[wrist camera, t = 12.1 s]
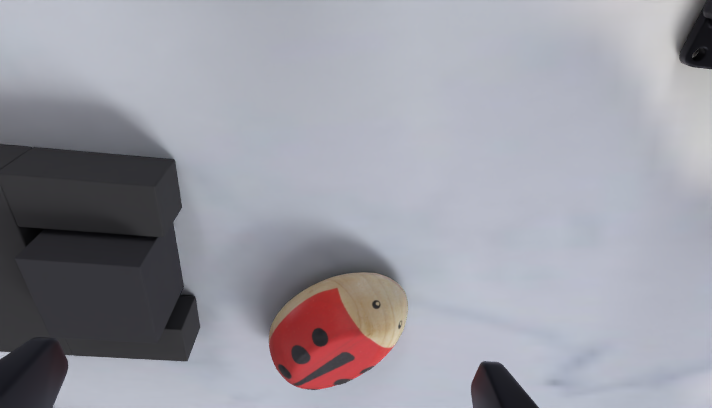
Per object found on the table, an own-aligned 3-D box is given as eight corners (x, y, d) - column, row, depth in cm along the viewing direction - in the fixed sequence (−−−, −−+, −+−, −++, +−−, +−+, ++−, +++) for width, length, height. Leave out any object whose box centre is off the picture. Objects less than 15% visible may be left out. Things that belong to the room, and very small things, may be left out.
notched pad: (175, 158, 20) (154, 186, 17) (200, 327, 26) (187, 361, 24) (-74, 137, 19) (-127, 163, 17) (17, 316, 25) (-13, 351, 23)
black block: (172, 214, 21) (139, 266, 18) (184, 286, 24) (158, 343, 21) (66, 205, 21) (13, 258, 18) (91, 280, 24) (49, 337, 20)
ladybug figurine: (431, 301, 25) (442, 350, 22) (322, 372, 29) (319, 423, 26) (352, 241, 22) (353, 288, 19) (243, 328, 26) (230, 379, 23)
